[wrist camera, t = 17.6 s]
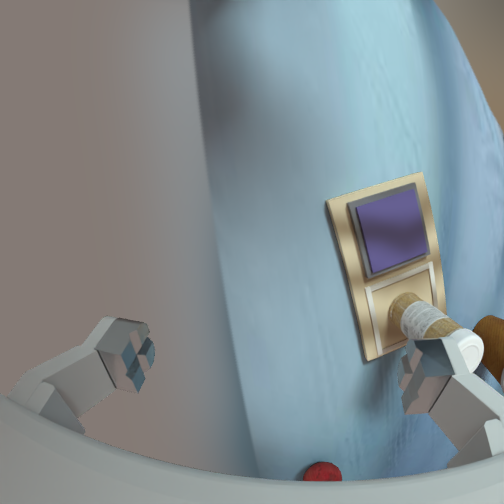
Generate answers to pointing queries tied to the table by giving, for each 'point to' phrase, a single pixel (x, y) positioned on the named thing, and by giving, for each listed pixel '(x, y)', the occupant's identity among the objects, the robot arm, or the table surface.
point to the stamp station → (387, 255)
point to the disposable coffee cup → (492, 345)
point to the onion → (323, 472)
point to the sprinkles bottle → (434, 326)
